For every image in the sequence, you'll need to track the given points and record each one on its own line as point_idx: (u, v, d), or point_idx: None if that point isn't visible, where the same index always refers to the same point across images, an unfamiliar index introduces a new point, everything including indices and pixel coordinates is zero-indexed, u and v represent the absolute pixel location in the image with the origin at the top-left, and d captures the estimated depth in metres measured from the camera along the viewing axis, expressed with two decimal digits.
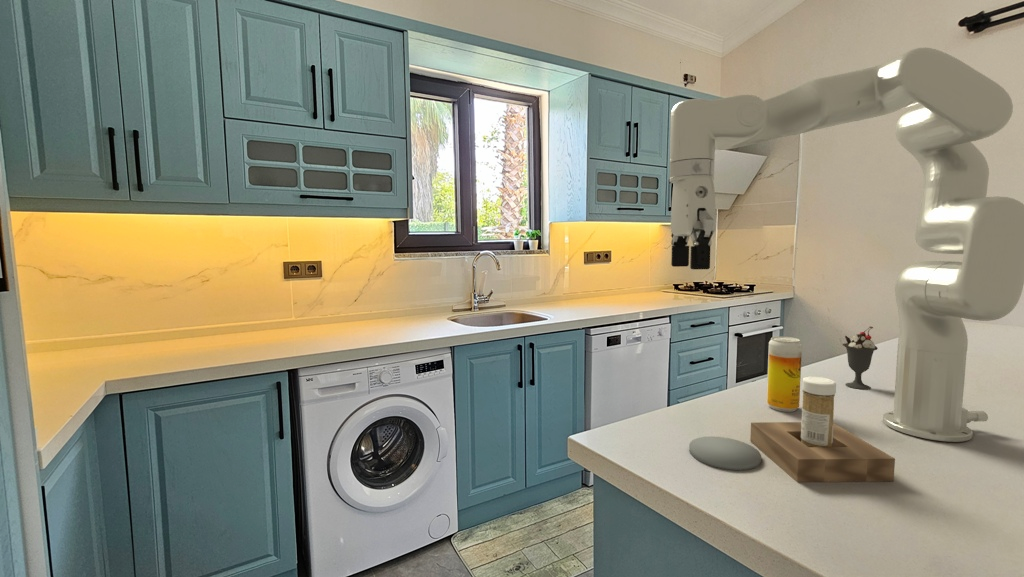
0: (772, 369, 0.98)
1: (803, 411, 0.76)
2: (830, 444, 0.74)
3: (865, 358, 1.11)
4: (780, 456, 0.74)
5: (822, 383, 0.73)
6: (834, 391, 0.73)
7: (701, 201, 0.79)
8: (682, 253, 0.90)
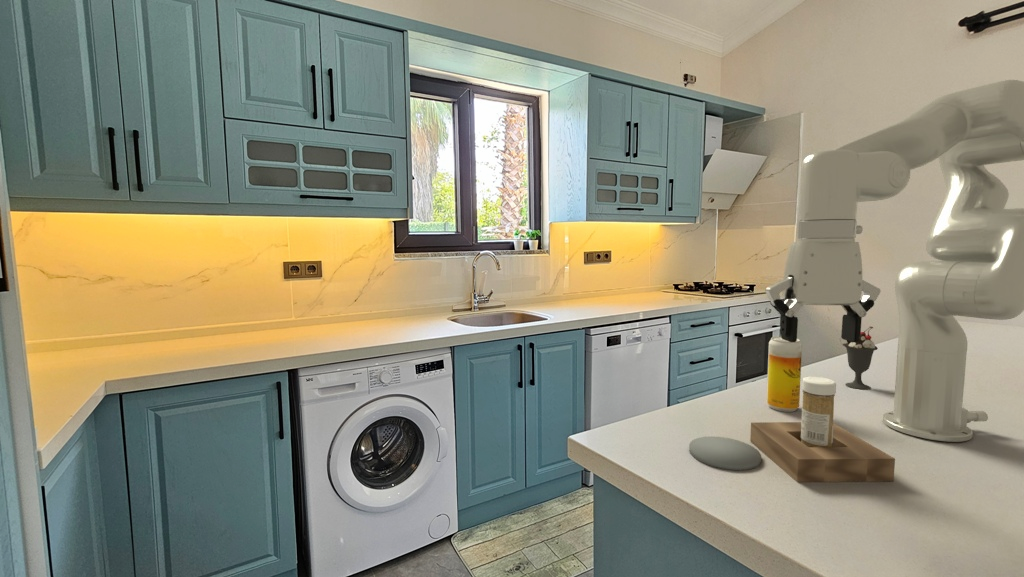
0: (772, 369, 0.98)
1: (803, 411, 0.76)
2: (830, 444, 0.74)
3: (865, 358, 1.11)
4: (780, 456, 0.74)
5: (822, 383, 0.73)
6: (834, 391, 0.73)
7: None
8: None
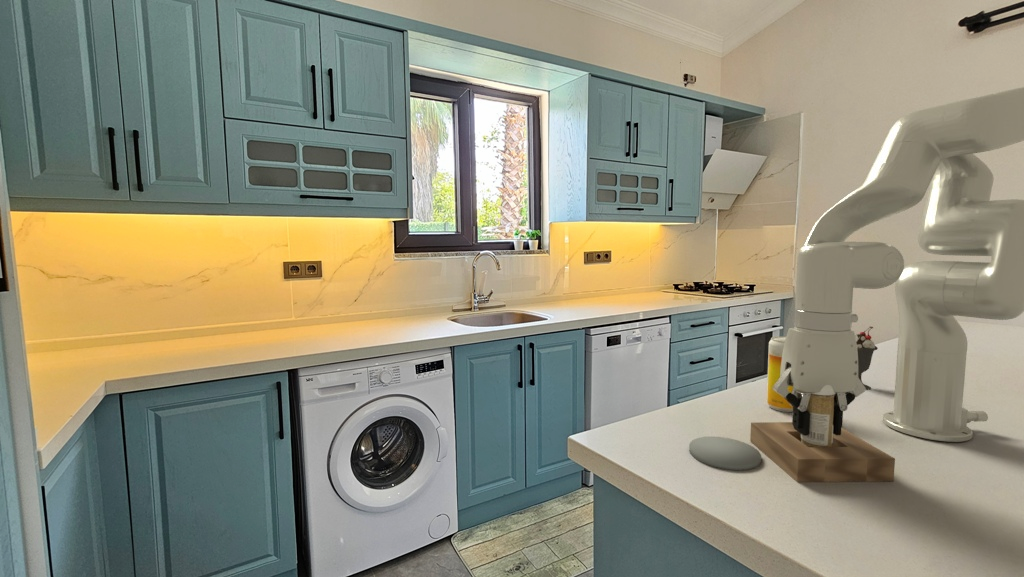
0: (772, 369, 0.98)
1: None
2: (830, 444, 0.74)
3: (865, 358, 1.11)
4: (780, 456, 0.74)
5: None
6: None
7: None
8: None
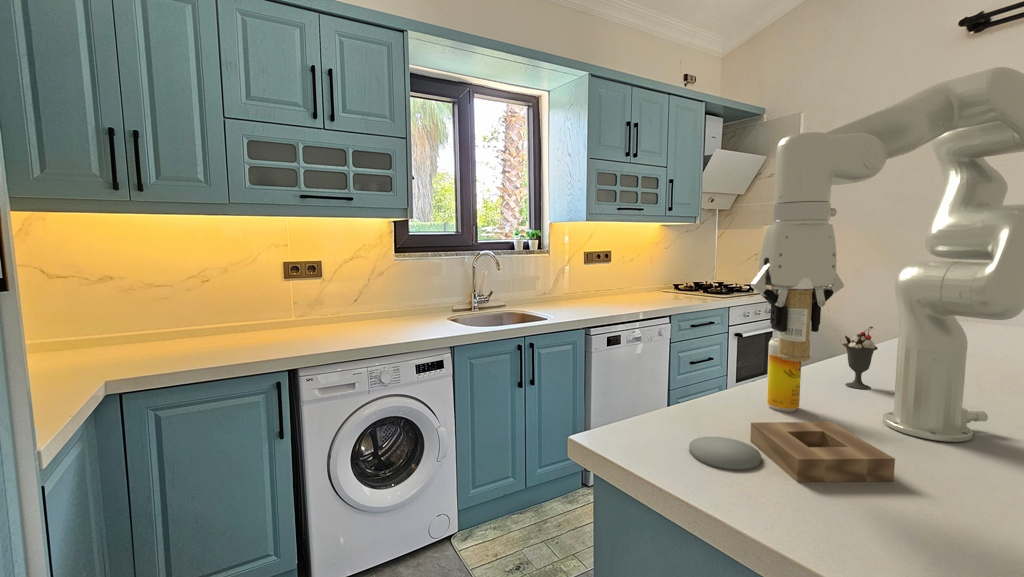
0: (772, 369, 0.98)
1: None
2: (808, 340, 0.73)
3: (865, 358, 1.11)
4: (780, 456, 0.74)
5: None
6: None
7: None
8: None
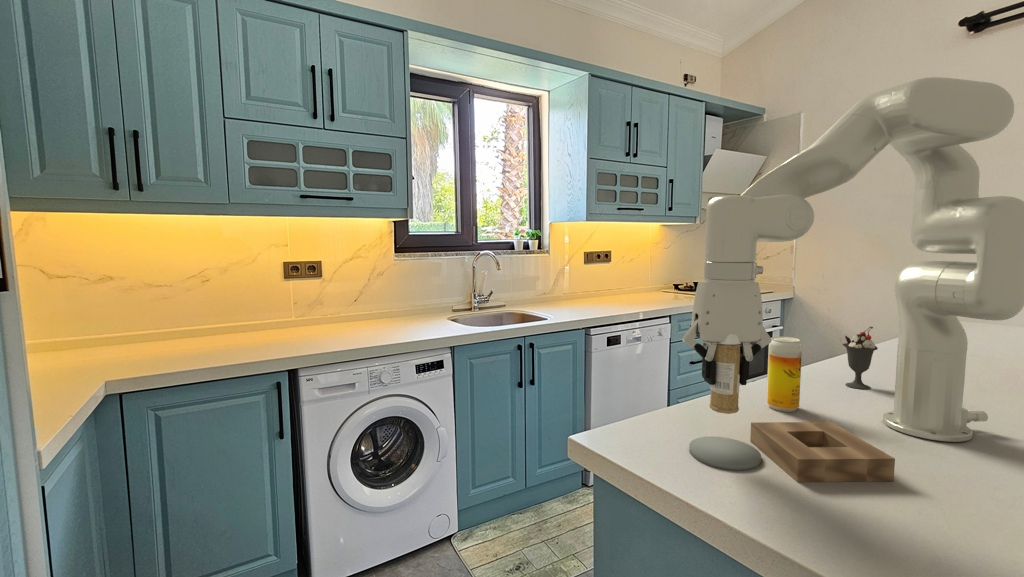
0: (772, 369, 0.98)
1: None
2: (736, 393, 0.76)
3: (865, 358, 1.11)
4: (780, 456, 0.74)
5: None
6: None
7: None
8: None
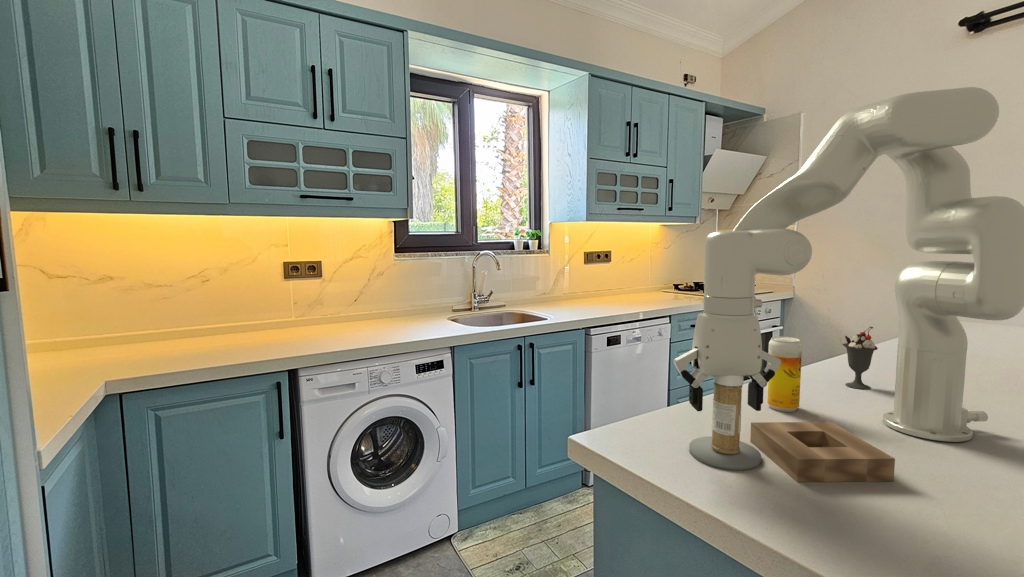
0: None
1: (713, 402, 0.78)
2: (737, 434, 0.76)
3: (865, 358, 1.11)
4: (780, 456, 0.74)
5: None
6: (741, 382, 0.76)
7: None
8: None
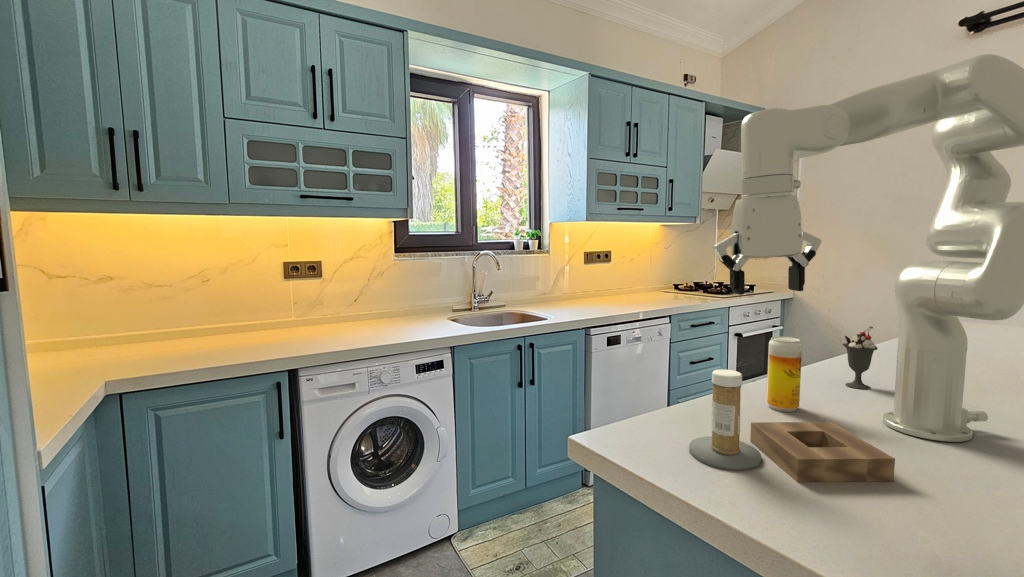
0: (772, 369, 0.98)
1: (712, 403, 0.78)
2: (737, 434, 0.76)
3: (865, 358, 1.11)
4: (780, 456, 0.74)
5: (728, 375, 0.76)
6: (739, 383, 0.76)
7: None
8: None
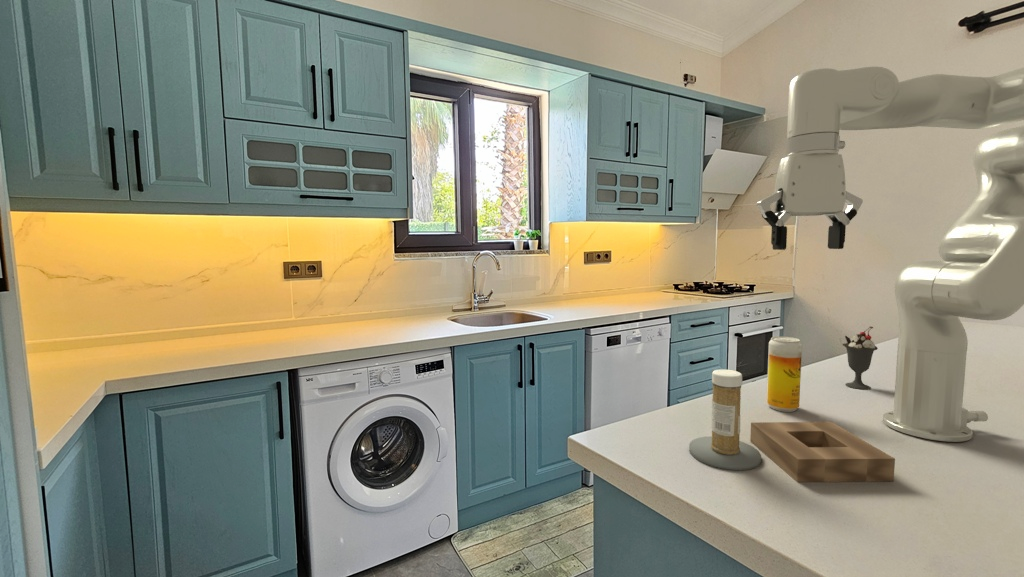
0: (772, 369, 0.98)
1: (712, 403, 0.78)
2: (737, 435, 0.76)
3: (865, 358, 1.11)
4: (780, 456, 0.74)
5: (728, 375, 0.76)
6: (739, 383, 0.76)
7: None
8: None
